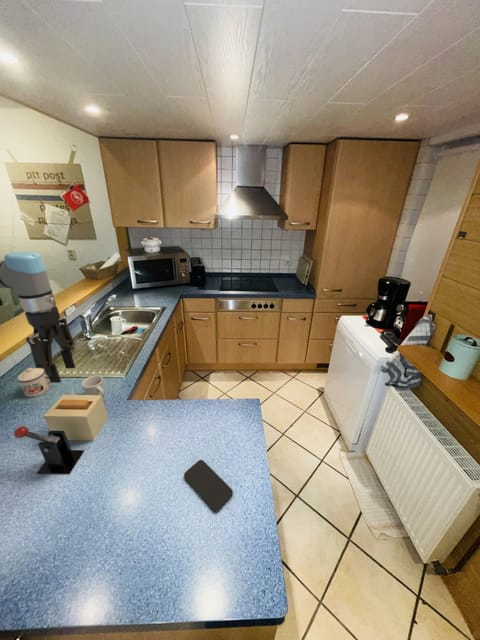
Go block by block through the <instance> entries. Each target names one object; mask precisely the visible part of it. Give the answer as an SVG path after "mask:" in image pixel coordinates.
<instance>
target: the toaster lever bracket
mask: <svg viewBox="0 0 480 640" xmlns="http://www.w3.org/2000/svg"><path fill="white" fill-rule="evenodd" d="M47 435H48V437H50V436H51V435H54V436H57V437H60V438H61V439H60V442H59V444H58V445H56V443H55V442H43V441H39V442H38V444H37V446H38V449H39V450H40V452H41V454H42V456H43V458H44V462H43V464H42V465H41V466H40V468H39V469H38V471H36V472H35V473H36V475H71V474H72V471H73V470H74V468H75V467H76V465H77V463H78V462H79V460H80V459H81V457H82V456H83V455H84V453H85V449H72V447H71V445H70V442H69V440H67V437H66V435H65V432H64V431H50V430H48V432H47Z"/></svg>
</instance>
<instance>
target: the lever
mask: <svg viewBox="0 0 480 640" xmlns="http://www.w3.org/2000/svg"><path fill="white" fill-rule="evenodd" d="M13 435H14V437H15V438H17V439H22V438H25V437H26V438H30V439H32V440H36V441H39V442H55V443H56V445H58V444H59V442H60V439H61V438H60V437H57V436H54V435H51V436H50V437H49V436H46V435H42V434H39V433H36V432H32V431H29V427H27V426H25V425H24V426H23V425H22V426H19V427H17V428H15V430H14V431H13Z"/></svg>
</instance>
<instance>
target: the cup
mask: <svg viewBox="0 0 480 640" xmlns="http://www.w3.org/2000/svg"><path fill="white" fill-rule="evenodd" d="M81 387H82V390H83V391H84V395H102V398H104V397H105V394H106V389H105V381H104V377H103V376H102V375H99V374H98V375H97V374H96V375H91V376H88V377H86V378H85V379H83V381H82V382H81Z"/></svg>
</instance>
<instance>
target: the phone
mask: <svg viewBox="0 0 480 640" xmlns="http://www.w3.org/2000/svg"><path fill="white" fill-rule="evenodd" d="M183 477H184V479H185V481H186V482H187V483H188V484H189V485H190V486H191V487H192V489H193V490H194V491H195V492H196V493H197V494H198V496H200V498H201V499H202V500H203V501H204V502H205V504H206V505H207V506H208V507H209V508H210V510H211V511H212V512H213V513H214V512H215V513H217V512H218V511H220V510H221V509H222V508H223V507H224V506H225V504H226V503H227V502H228V501H229V500H230V499H231V498H232V497H233V494H234V492H233V489H232V487H231V486H229V485H228V484H227V482H225V481H224V480H223V479H222V477H220V476H219V474H217V472H215V471H214V469H212V468H211V466H210V465H208V464H207V463H206V462H205V461H204V460H203V459H199V460H198V461H196V462H195V463H194V464H193V465H192V466H191V467H189V468H188V469H186V471H185V472H184V473H183Z"/></svg>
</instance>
